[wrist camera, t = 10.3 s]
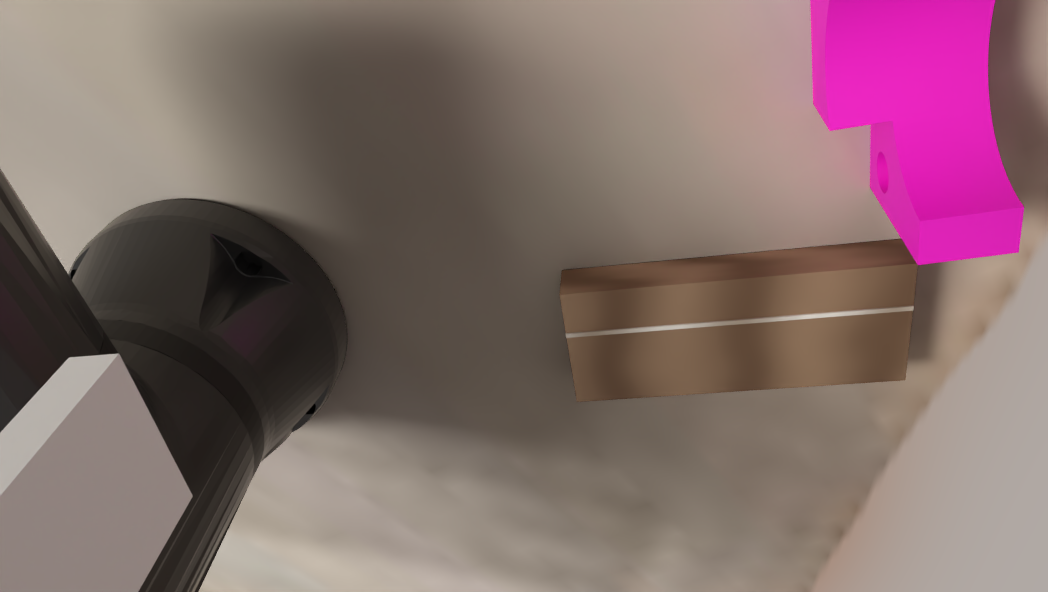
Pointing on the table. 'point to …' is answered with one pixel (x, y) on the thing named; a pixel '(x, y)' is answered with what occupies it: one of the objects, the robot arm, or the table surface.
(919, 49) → the toy block
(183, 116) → the table surface
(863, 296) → the brown flat bar
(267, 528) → the table surface
